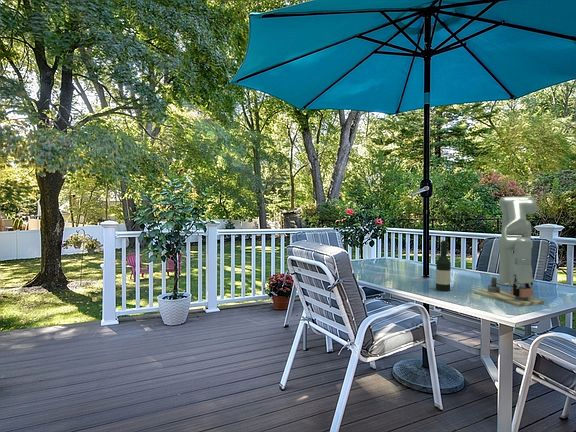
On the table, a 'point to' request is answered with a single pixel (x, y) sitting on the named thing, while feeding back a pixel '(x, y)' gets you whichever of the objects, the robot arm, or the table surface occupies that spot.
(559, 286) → the table surface
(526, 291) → the collar
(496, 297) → the board
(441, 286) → the wine bottle
